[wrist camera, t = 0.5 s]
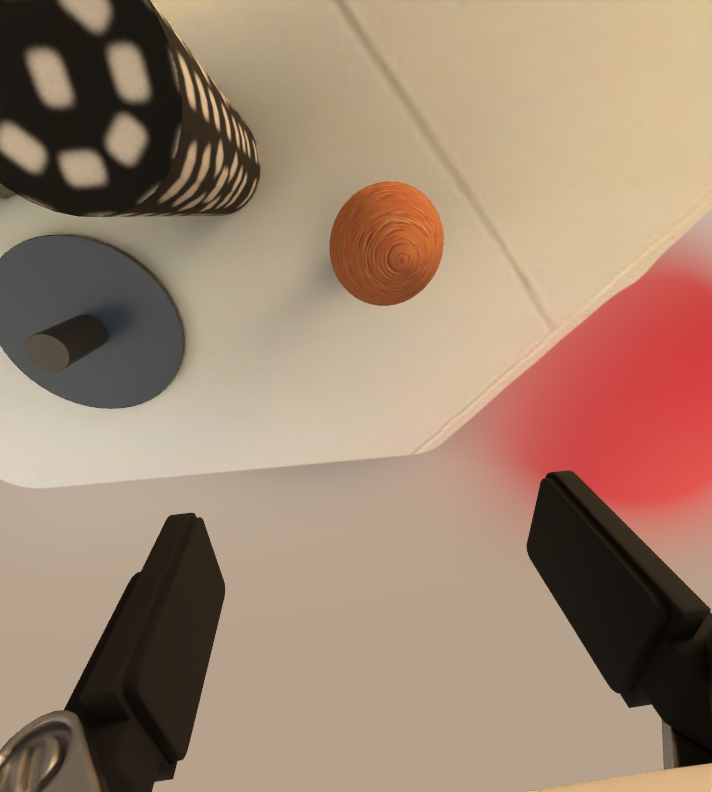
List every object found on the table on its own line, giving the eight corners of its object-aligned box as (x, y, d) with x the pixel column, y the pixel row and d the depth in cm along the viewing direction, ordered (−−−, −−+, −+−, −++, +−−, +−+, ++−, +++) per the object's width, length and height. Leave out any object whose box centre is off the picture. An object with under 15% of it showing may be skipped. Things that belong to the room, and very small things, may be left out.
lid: (-44, 242, 31) (-137, 249, 24) (156, 227, 32) (116, 230, 25) (45, 411, 38) (-9, 450, 32) (204, 395, 39) (183, 430, 33)
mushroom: (337, 291, 36) (349, 338, 22) (316, 202, 32) (316, 194, 19) (415, 272, 36) (475, 308, 22) (403, 180, 32) (466, 157, 19)
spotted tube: (268, 211, 32) (209, 207, 14) (173, 219, 32) (-12, 226, 14) (248, 92, 28) (133, -117, 10) (139, 100, 28) (-174, -104, 10)
